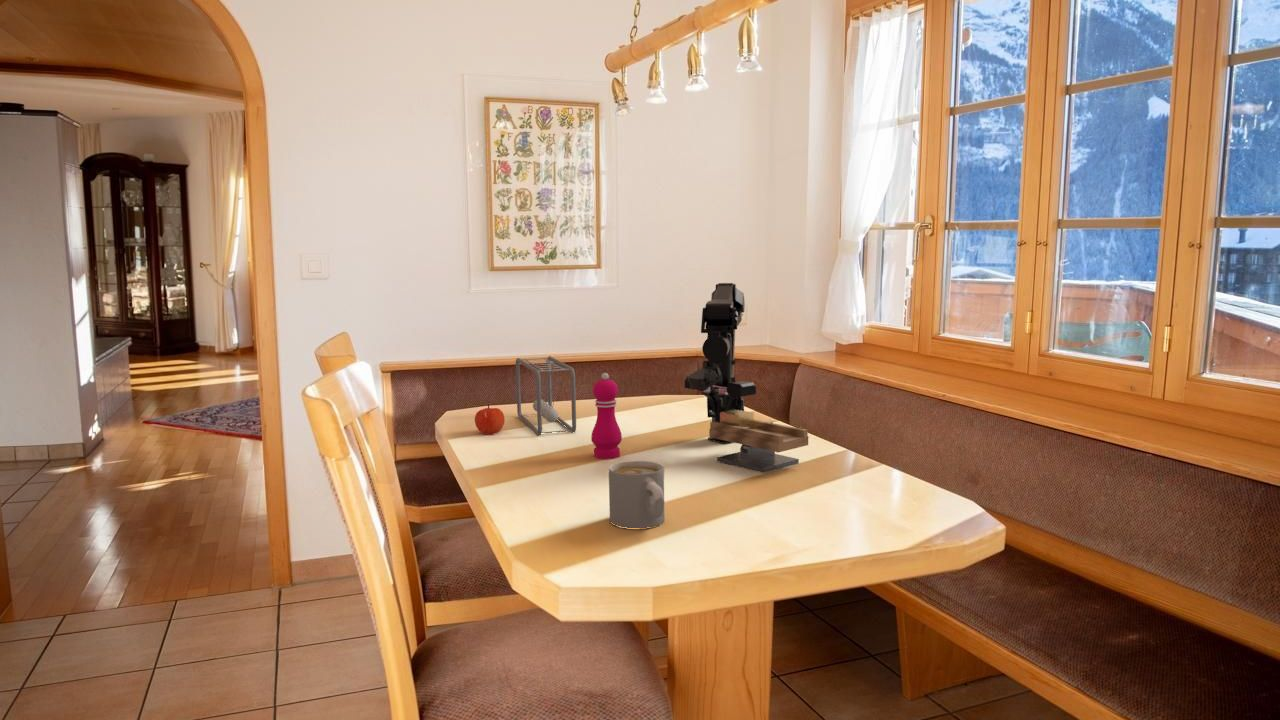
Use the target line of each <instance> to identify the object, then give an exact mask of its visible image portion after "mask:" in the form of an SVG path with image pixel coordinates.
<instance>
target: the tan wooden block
mask: <svg viewBox="0 0 1280 720" xmlns="http://www.w3.org/2000/svg"><path fill="white" fill-rule="evenodd" d="M754 420H755V417H754V412H750V411H746V410H744V411H741V410H735V409H734V410H729V411H724V412H720V423H724V424H729V425H734V426H739V427H744V428H745V427H749V429H750V428H754Z"/></svg>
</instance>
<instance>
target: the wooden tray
mask: <svg viewBox="0 0 1280 720" xmlns="http://www.w3.org/2000/svg"><path fill="white" fill-rule="evenodd" d="M709 427H710V428H709V430H708V431H709V432H708V433H709V436H708V437H711V438H716V439H720V440H725V441H729V442H730V443H733V444H738V445H742V444H743V445H747V446H752V447H756V448H761V449H765V450H770V451H774V452H775V453H782V452H787V451H790V450H794V449H798V448H801V447H805V446H809V435H808V434H809V433H808V429H806V428H799V427H795V426H789V425H784V424H778V423H774V422H773V421H769V422H768V421H763V420H757V419H754V428H750V429H749V427H745V428H744V427H739V426H734V425H729V424H724V423H719V422H712V421H710V423H709Z"/></svg>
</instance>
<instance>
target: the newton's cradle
mask: <svg viewBox="0 0 1280 720" xmlns="http://www.w3.org/2000/svg"><path fill="white" fill-rule="evenodd" d="M540 360H543V361H544V363H541V365H540V366H538V365H537V364H535V363H538V361H540ZM520 365H521V366H524V367H525V368H527V369H528V370H530V371H531V375H532V379H533V385H534V388H535V393H536V399H535V400H534V401H533V403H532V409H533V410H534V411H535V412H536V413H535V414H537V417H536V418H537V427H536V426H534V424H533V423H532V422H531V421H529V420H528V419H527V418H526V417H528V416H527V415H528V414H524V415H523V414H522V402H521V401H522V398H521V373H520V372H521V370H520V369H521V367H520ZM553 366H554V368H555V369H553ZM559 371H560V372H562V371H569V373H570V391H571V392H570V395H571V396H570V398H571V424H568V423H567V422H566V421H565V420H564V419H562V418H561V417H560V416H559V412H558V410H557V409H555V408H554V406H553V405H554V402H555V399H553V398H555V396H556V389H557V386H555V387H554V388H555V389H554V394H553V393H552V391H553V388H552V387H553V385H554V382H552V381H554V380H555V379H554V378H555V374H556V373H555V372H557V375H556V378H558V377H559V376H558V375H559ZM552 372H553V377H552ZM545 373H546V379H545V376H544V375H545ZM533 374H534V375H533ZM541 376H542V378H541ZM534 378H535V379H534ZM515 380H516V381H515V384H516V411H517V417H518V418H519V417H520V418H521V419H522V420H523V421H524V422H525V423H526V424H527V425H528V426H529V427H528V426H527V427H528V428H529V429H531V431H532V432H534V433H535V434H536V435H537V434H538V435H537V436H541V435H542V434H541V433H545V434H553V433H552V432H557V433H566V431H568V432H571V431H572V432H571V433H573V432H574V433H575V432H576V430H577V405H576V404H577V402H576V401H577V400H576V398H577V397H576V372H575V369H574V368H573V367H572V366H571V365H568V364H566V363H565V362H562V361H560V360H559V359H557V358H555V357H553V356H551V355H549V356H547V357H537V358H519V357H517V358H516V359H515ZM535 382H536V383H535ZM546 383H547V384H546ZM557 384H558V379H556V382H555V385H557ZM543 387H544V388H543ZM546 387H547V388H546ZM545 393H546V396H545ZM552 394H553V395H552ZM552 396H553V397H552ZM535 414H534V413H533V414H532V415H535ZM524 416H525V417H524ZM520 418H519V419H520ZM542 418H543V419H545V420H546V421H547V422H549V423H554V422H557V419H558V420H559V421H560V422H561V423H562V424H563V425H565V426H566V427H567V428H568V429H569V430H568V429H567V428H566V427H565V426H564V427H565V428H566V430H565V429H564V430H555V431H554V430H553V431H543V419H542ZM521 419H520V420H521ZM522 420H521V421H522ZM523 421H522V422H523ZM524 422H523V423H524ZM560 422H559V423H560ZM525 423H524V424H525ZM561 423H560V424H561ZM562 424H561V425H562ZM563 425H562V426H563ZM571 425H572V426H571Z"/></svg>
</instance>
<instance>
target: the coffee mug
mask: <svg viewBox="0 0 1280 720" xmlns="http://www.w3.org/2000/svg"><path fill="white" fill-rule="evenodd" d="M664 467H665V466H664V465H663V464H661V463H658V462H656V461H652V460H651V461H649V460H627V461H620V462H616V463H613V464H611V465H610V466H609V468H608V494H609V495H608V496H609V500H608V501H609V522H610V521H611V522H612V523H613V524H615V525H618V526H621V527H627V528H647V527H654V526H658V525H660V524H662V523H663V522H664V523H665V521H664V520H666V519H665V468H664ZM664 523H663V524H664ZM663 524H662V525H663ZM660 526H661V525H660ZM658 527H659V526H658ZM654 528H655V527H654Z"/></svg>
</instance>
